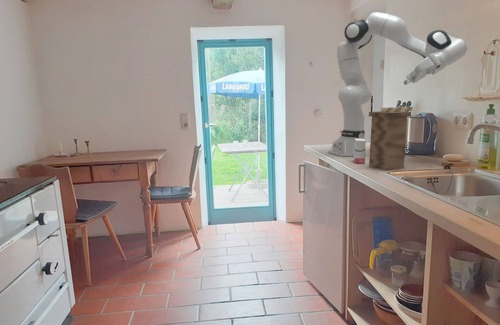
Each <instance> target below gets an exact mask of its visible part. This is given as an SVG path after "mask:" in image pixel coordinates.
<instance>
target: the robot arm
mask: <svg viewBox="0 0 500 325" xmlns="http://www.w3.org/2000/svg"><path fill="white" fill-rule="evenodd" d="M373 35H377V36H379V37H383V38H385V39H387V40H390V41H392V42H394V43H395V44H397V45H399V46H401V47H402V48H404V49H407V50H409V51H411V52H412V53H415V54H418V55H419V56H421V57H422V58H423V60H421V61H420V62H419V63H418V64H417V65H415V68H414V69H413V70H412V71H411V72H410V73H409V74H407V75H406V79H405V80H404V81H403V85H405V86H406V85H408V84H410V83H412V84H415V83H417V82H419V81H420V80H422V79H424V78H425V77H427V75H430V74H431V75H435V74H437V73H439V72H440V71H442V70H444V69H445V68H446V67H447V66H449V65H452V64H455V62H457V61H459V60H460V59H461V58H463V57H464V56H465V55H466V53H467V49H468V48H467V43H466V42H465V40H464V39H462V38H456V37H453V36H452V35H450V34H448V33H447V32H446V31H444V30H441V29H436V30H433V31H431V32H430V33H428V35H427V37H426V40H425V41H423V40H421V39H419V38H416V37H414V36H413V35H412V34H411V32H410V31H409V29H408V27H407V25H406V22H405V20H403V18H400V17H399V16H396V15H394V14H390V13H385V12H381V11H380V12H379V11H378V12H377V11H374V12H371V13H370V15H368V17H367V19H366V20H365V19H360V20H355V21H352V22H349V23H348V24H347V25H346V27H345V28H344V38H345V40H344V41H341V42H340V43H339V44H338V45H337V48H336V51H337V52H336V53H337V54H336V55H337V56H336V57H337V63H338V68H339V74H340V77H341V80H343V82H344V84H345V86H344V87H342V88H341V89H340V90H339V92H338V101H339V102H340V103H341V106H342V111H343V130H340V131H339V133H340V137H338V138H337V139H336V140H334V141H333V142H332V145H331V149H328V150H327V153H329V154H332V155H336V156H340V157H354V142H355V138H359V139H364V138H365V132H366V131H365V119H366V118H365V115H364V113H363V109H362V106H363V105H365V104H366V103H368V102H370V100H371V99H372V91H371V90H370V88H369V87H368V85H367V84H368V83H366V80H365V78H364V75H363V72H362V69H361V63H360V59H359V54H358V50H360V49H362V48H363V47H364V46H367V45H368V44H369V43H370V42H371V40H372V38H373ZM364 140H365V139H364ZM365 156H366V153H365Z"/></svg>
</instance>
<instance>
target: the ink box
mask: <svg viewBox="0 0 500 325" xmlns="http://www.w3.org/2000/svg"><path fill="white" fill-rule="evenodd" d="M366 142H367V141H366V139H359V138H355V142H354V156H353V162H354V164H365V162H366V155H365V154H366Z"/></svg>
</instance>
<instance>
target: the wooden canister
mask: <svg viewBox="0 0 500 325" xmlns="http://www.w3.org/2000/svg"><path fill="white" fill-rule="evenodd" d="M411 116H412V111H404V112H381V110H380V111H369V112H368V117H371V128H370V145H369V162H368V163H369V164H368V167H369V168H373V169H377V170H382V171H393V170H397V169H404V167H405V154H406V139H407V127H408V117H411Z"/></svg>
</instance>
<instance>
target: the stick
mask: <svg viewBox="0 0 500 325" xmlns="http://www.w3.org/2000/svg"><path fill="white" fill-rule="evenodd" d="M413 109H414V106H397V107H395V106H394V107H380V111H381V112H413V111H414V110H413Z"/></svg>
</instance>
